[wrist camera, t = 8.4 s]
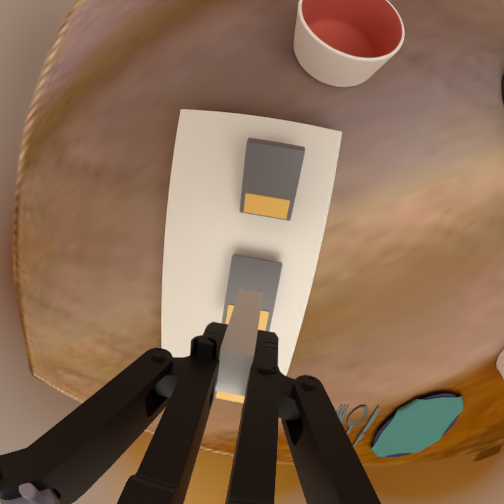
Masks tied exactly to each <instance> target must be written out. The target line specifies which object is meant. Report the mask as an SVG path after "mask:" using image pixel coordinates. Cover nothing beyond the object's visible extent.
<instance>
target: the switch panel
mask: <svg viewBox="0 0 504 504" xmlns="http://www.w3.org/2000/svg"><path fill="white" fill-rule="evenodd" d="M341 136H342V132H340V131H335V130H331V129H327V128H322V127H318V126H313V125H308V124H303V123H297V122H292V121H286V120H280V119H274V118H267V117H260V116H253V115H245V114H237V113H227V112H216V111H203V110H187V109H181V111H180V117H179V123H178V129H177V135H176V141H175V148H174V155H173V162H172V170H171V178H170V186H169V196H168V205H167V216H166V228H165V241H164V257H163V277H162V316H161V339H162V348H163V349H166V350H168V351H169V352H170V353H171V354H172V356H173V357H187V356H190V348H191V340H192V339H193V338H194V337H196V336H200V335H203V333H204V331H205V328H206V326H207V325H208V324H210V323H211V322H217V323H222V317H223V310H224V304H225V297H226V291H227V285H228V278H229V272H230V266H231V260H232V255H233V254H237V255H243V256H249V257H254V258H260V259H266V260H272V261H277V262H282V269H281V275H280V280H279V285H278V290H277V296H276V301H275V306H274V311H273V316H272V321H271V326H270V331H269V332H275V333H276V335H277V336H278V338H279V341H278V367H279V370H280V372H281V373H282V374H284V375H285V376H286V375H287V372H288V369H289V366H290V362H291V359H292V356H293V352H294V349H295V345H296V342H297V338H298V335H299V331H300V328H301V324H302V320H303V317H304V313H305V309H306V305H307V302H308V298H309V294H310V290H311V286H312V282H313V278H314V274H315V269H316V265H317V261H318V257H319V252H320V248H321V243H322V239H323V234H324V230H325V225H326V220H327V215H328V210H329V205H330V200H331V195H332V189H333V184H334V179H335V173H336V167H337V161H338V155H339V149H340V143H341ZM248 138H256V139H262V140H269V141H275V142H281V143H287V144H292V145H298V146H303V147H305V154H304V159H303V164H302V169H301V173H300V178H299V183H298V187H297V192H296V197H295V201H294V206H293V210H292V215H291V219H290V221H288V220H282V219H276V218H271V217H265V216H259V215H253V214H247V213H241V212H239V211H240V201H241V191H242V181H243V172H244V162H245V153H246V143H247V140H248Z"/></svg>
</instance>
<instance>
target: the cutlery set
mask: <svg viewBox="0 0 504 504" xmlns="http://www.w3.org/2000/svg"><path fill="white" fill-rule="evenodd" d="M345 406H346V405H344V406H343V408H342V409H341V407H342V405H341V406H340V407H339V409H338V411H337V412H336V413H337V415H338V417H339V419H340V421H341V423H342V421H343V418H344V416H345V413H346V411H347V408H348V406H349V405H347V407H346V408H345ZM463 407H464V403H463V399H462V395H460V396H459V397H457V396H456V395H454V394H450V393H440V394H435V395H430V396H428V397H425V398H423V399H414V400H413V401H411V402H409V403H408V404H406V405H404V406H403V407H400V408H399V409H398V410H397V412H396V414H395V415H394V416H392V417H391V418H390V419H389V420H387V421H386V422H385V424H384V425H383V426H382V427H381V428H380V429H379V430H378V432H377V434H376V436H375V438H374V446H372V447H371V448H370V449H371V450H372V451H373V452H374V453H375V454H376V455H377V456H379V457H383V456H386V457H399V456H404V455H408V454H411V453H417V452H419V451H421V450H423V449H424V448H427V447H428V446H431V445H432V444H434V443H435V442H436V441H438V440H439V439H440V438H441V437H442V436H443V435H444V434H445V433H446V432H447V431H448V430H449V429H450V428H451V427H452V426H453V425H454V423H455V421H456V420H457V418H458V416H459V414H460V412H461V411H462V410H463ZM344 408H345V410H344ZM359 408H364V411H365V413H364V416H363V417H362V418H361V419H360V420H359V421H357V422H355V423H350V422H349V417H348V421H347V423H348V425H349V428H348V430H347V432H346V433H347V435H348V434H349V432H350V430H351V428H352V427H355V426H356V425H358V424H360V423H361V422H362V421H363V420H364V419H365V418H366V415H367V412H368V410H367V407H366V406H361V407H359ZM340 409H341V411H340ZM357 409H358V408H357ZM343 410H344V412H343ZM354 411H355V410H354ZM354 411H353V412H354ZM379 411H380V407H379V405H378V406H377V407H376V409H375V411H374V412H373V414H372V416H371V417H370V419H369V421H368V422H367V424H366V425H365V427H364V428H363V430H362V431H360V434H358V436H357V440H356V441H355V443H354V444H353V447H354V446H355V445H356V444H357V443H358V441H359V440H360V439H361V438H363V435H364V434H366V432H365V431H366V430H367V429H368V428H369V427H370V425H371V424H372V422H373V421H374V419H375V418H376V416H377V414H378V413H379ZM339 412H340V413H339ZM342 412H343V413H342ZM353 412H352V413H353ZM352 413H351V414H352ZM351 414H350V415H351ZM350 415H349V416H350Z"/></svg>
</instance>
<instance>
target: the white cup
mask: <svg viewBox="0 0 504 504" xmlns="http://www.w3.org/2000/svg"><path fill="white" fill-rule="evenodd" d="M496 368H497V369H498V370H499V371H500V373H501V374H502V377H503V378H504V349H503V350H502V352H501V353H500V355H499V356H498V359H497V361H496Z"/></svg>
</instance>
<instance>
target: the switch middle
mask: <svg viewBox="0 0 504 504" xmlns="http://www.w3.org/2000/svg"><path fill="white" fill-rule="evenodd" d="M281 269H282V262H277V261H272V260H266V259H260V258H254V257H249V256H243V255H237V254H233V255H232V260H231V266H230V272H229V278H228V285H227V291H226V297H225V304H224V310H223V317H222V324H227V325H228V324H229V320H230V317H231V314H232V311H233V308H234V305H235V302H236V299H237V296H238V293H239V290H240V289H243V290H248V291H254V292H260V293H263V296H262V304H261V311H260V318H259V325H258V330H264V331H270V326H271V321H272V316H273V311H274V306H275V301H276V296H277V290H278V285H279V280H280V275H281Z"/></svg>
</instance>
